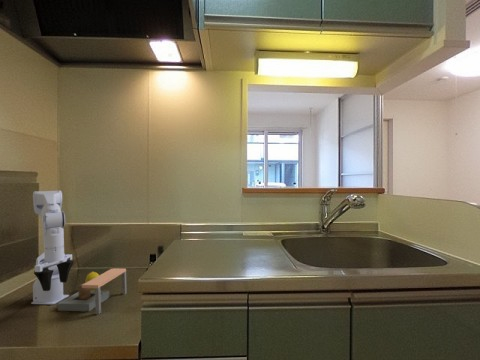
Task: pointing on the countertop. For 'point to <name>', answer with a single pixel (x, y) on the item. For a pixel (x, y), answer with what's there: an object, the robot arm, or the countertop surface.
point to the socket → (81, 302)
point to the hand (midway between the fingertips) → (55, 286)
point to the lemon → (91, 277)
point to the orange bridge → (103, 280)
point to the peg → (84, 292)
